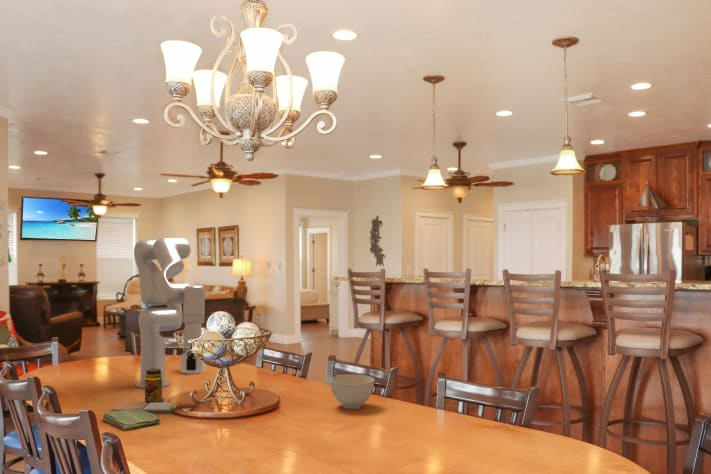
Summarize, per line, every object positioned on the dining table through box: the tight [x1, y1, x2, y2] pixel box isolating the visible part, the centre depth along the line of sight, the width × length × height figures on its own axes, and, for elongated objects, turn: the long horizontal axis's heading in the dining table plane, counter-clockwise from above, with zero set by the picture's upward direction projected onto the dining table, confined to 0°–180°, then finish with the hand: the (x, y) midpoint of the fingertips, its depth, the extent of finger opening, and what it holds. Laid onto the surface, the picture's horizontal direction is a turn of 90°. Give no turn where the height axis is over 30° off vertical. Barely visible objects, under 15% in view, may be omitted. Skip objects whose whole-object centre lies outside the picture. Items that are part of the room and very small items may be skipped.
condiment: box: [142, 369, 165, 403], centre depth 236 cm, size 7×8×12 cm
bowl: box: [330, 374, 375, 410], centre depth 232 cm, size 16×16×10 cm
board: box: [110, 402, 178, 414], centre depth 225 cm, size 10×20×1 cm, turn 92°
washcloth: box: [102, 408, 161, 431], centre depth 210 cm, size 13×18×3 cm
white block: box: [179, 352, 207, 374], centre depth 234 cm, size 6×8×6 cm
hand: (193, 367), depth 234 cm, fingers closed on white block, 6 cm apart
